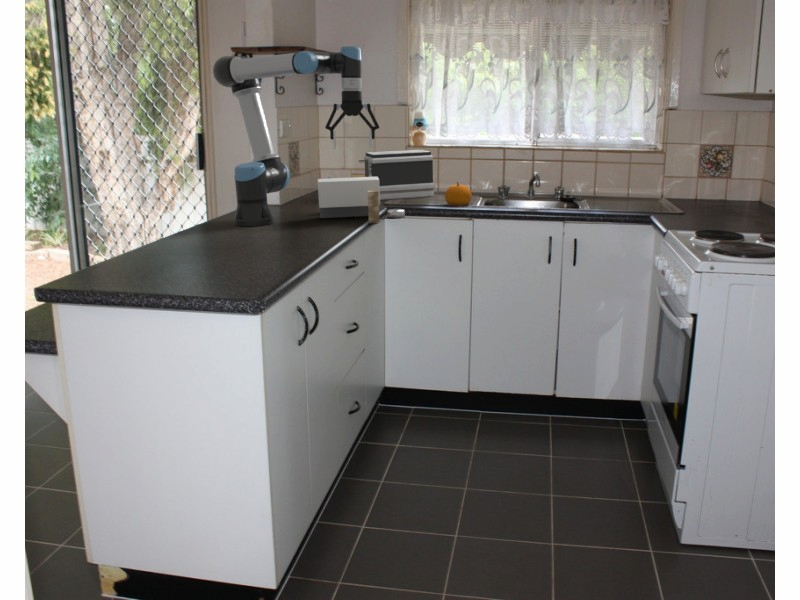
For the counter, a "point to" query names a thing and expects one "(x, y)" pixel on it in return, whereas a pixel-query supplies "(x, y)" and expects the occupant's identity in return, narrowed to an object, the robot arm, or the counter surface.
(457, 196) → the fruit
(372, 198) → the mottled tan block
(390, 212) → the token
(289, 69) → the robot arm
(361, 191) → the two-tone white block
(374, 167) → the toaster
